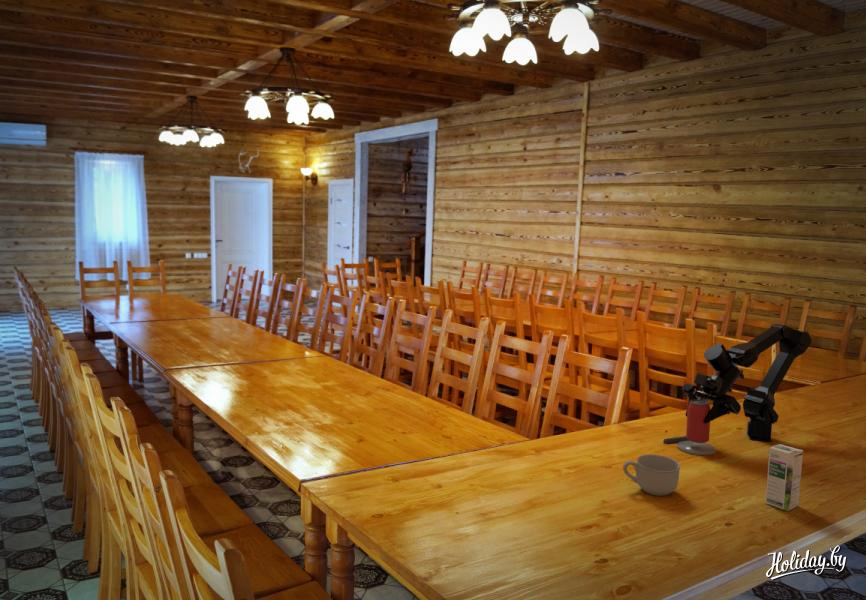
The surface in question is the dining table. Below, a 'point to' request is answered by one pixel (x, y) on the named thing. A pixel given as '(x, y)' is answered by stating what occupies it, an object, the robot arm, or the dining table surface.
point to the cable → (675, 439)
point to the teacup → (655, 473)
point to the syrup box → (784, 477)
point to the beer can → (697, 421)
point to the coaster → (696, 448)
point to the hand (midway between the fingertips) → (695, 419)
